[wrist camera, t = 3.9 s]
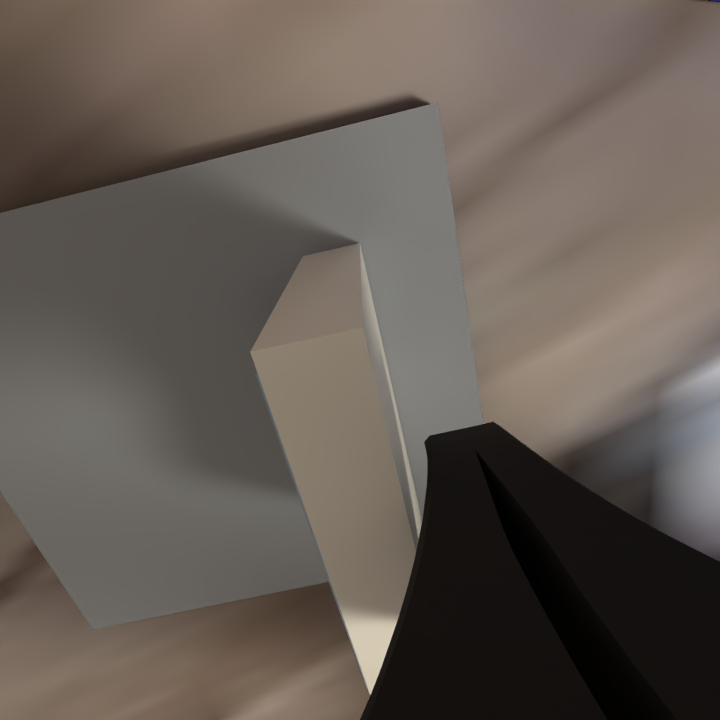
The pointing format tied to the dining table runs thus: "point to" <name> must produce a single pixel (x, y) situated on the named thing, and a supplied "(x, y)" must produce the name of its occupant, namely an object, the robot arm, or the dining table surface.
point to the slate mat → (210, 358)
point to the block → (343, 442)
